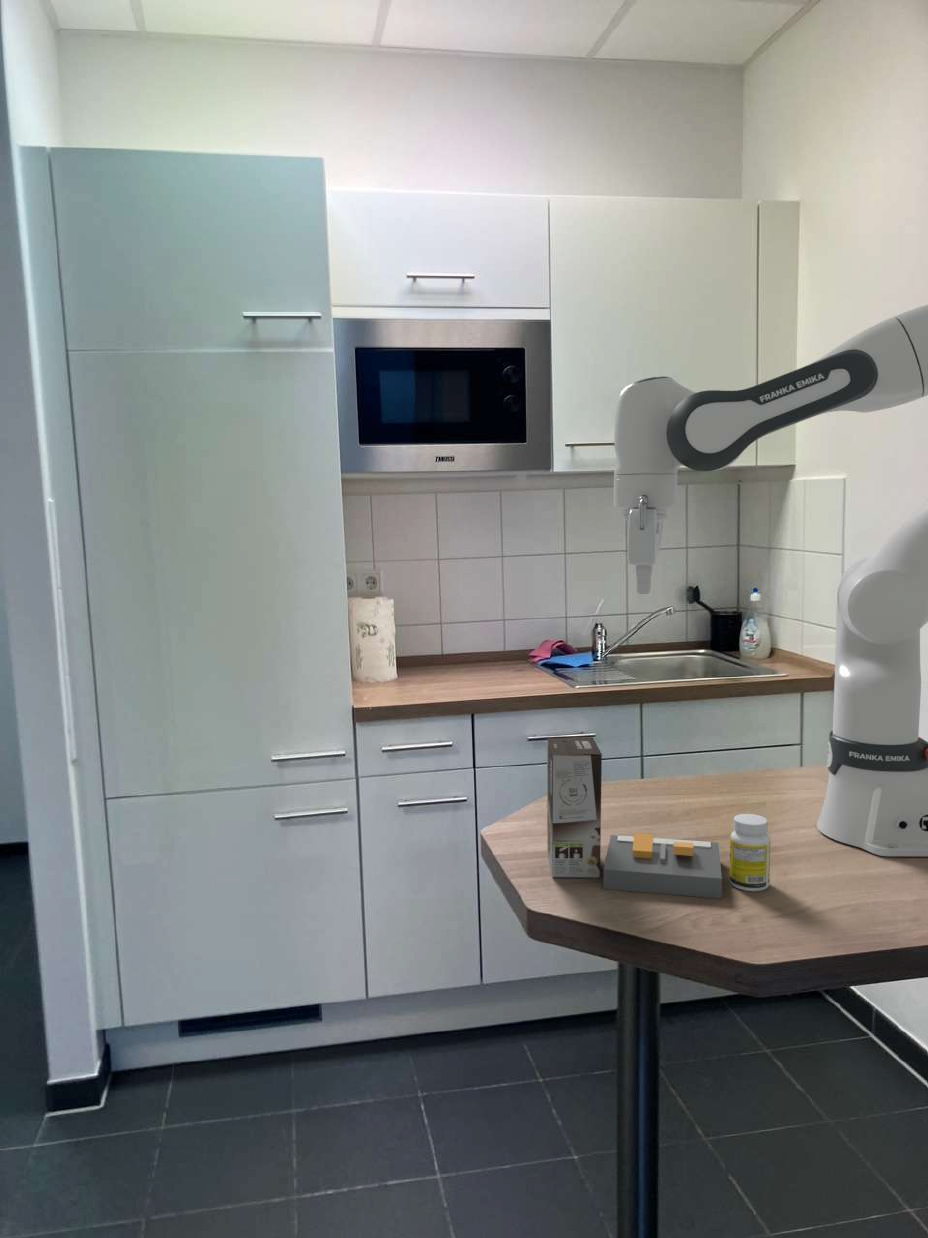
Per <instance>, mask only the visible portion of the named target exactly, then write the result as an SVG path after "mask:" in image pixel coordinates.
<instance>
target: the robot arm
mask: <svg viewBox="0 0 928 1238" xmlns="http://www.w3.org/2000/svg"><path fill="white" fill-rule="evenodd" d="M926 396H928V304H925V305H922V306H918V307H916V308H913V309H911V310H907V311H904V312H902V313H900V314H897V315H894V316H893V317H890V318H887V319H886V320H883V321H880V322H879V323H877V324H874V325H873V326H870V327H868V328H866V329H864V330H862V331H861V332H859V333H857V334H855V335H854V336H852V337H851V338H849V339H847V340H846V341H844V342H842V343H841V344H839V345H838V346H837V347H836V348H834V349H832V350H831V351H830V352H827V354H825V355H823V356H822V357H820V358H818V359H817V360H815V361H814V362H812V363H810V364H807V365H805V366H803V367H800V368H797V369H795V370H792V371H790V372H787V373H784V374H782V375H780V376H777V377H774V378H771V379H769V380H766V381H764V382H761V383H759V384H756V385H753V386H750V387H747V388H744V389H739V390H738V389H737V390H720V389H718V390H715V389H713V390H712V389H711V390H710V389H709V390H703V391H698V392H696V391H694V390H691V389H689V388H687V387H685V386H683V385H682V384H681V383H678V382H677V381H676V380H675V379H674V378H672V377H669V376H654V377H653V376H652V377H647V378H643V379H640V380H636V381H634V382H631V383H629V384H628V385H627V386H625V387H624V388H623V389H622V390H621V392H620V394H619V396H618V398H617V402H616V407H615V409H616V410H615V417H614V438H613V439H614V441H613V443H614V448H615V452H616V464H615V468H614V472H613V508H614V509H622V520H623V521H628V526H627V527H628V528H627V529H628V530H627V561H628V564H629V565H632V566H635V573H636V582H637V584H636V590H637V594H639V595H648V594H650V592H651V589H652V587H651V586H652V585H651V584H652V572H653V565H655V563H656V561H657V559H658V557H659V555H660V550H661V544H662V537H663V528H664V521H666V520H668V519H669V516H668V514H669V513H668V509H672V508H675V509H676V508H677V506H678V473H679V472H678V470H679V468H680V467H682V466H684V467H686V468H688V469H689V470H693V471H696V472H697V471H698V472H715V471H720V470H722V469H725V468H727V467H729V466H730V465H732V464H734V463H735V462H736V461H737V460H738V459H739V457H740V456H741V455H742V454H743V452H744V451H745V450H746V449H747V448H748V447H749V446H750V445H751V444H753V443H754V442H756V441H758V440H759V439H761V438H762V437H764V436H766V435H769V434H771V433H774V432H777V431H780V430H781V429H785V428H787V427H790V426H793V425H795V424H798V423H801V422H804V421H806V420H808V419H812V418H814V417H816V416H819V415H823V414H827V413H832V412H833V413H834V412H843V411H844V412H845V411H846V412H847V411H848V412H857V413H863V414H864V413H865V414H866V413H871V412H877V411H881V410H886V409H890V408H894V407H897V406H901V405H905V404H908V403H910V402H914V401H916V400H918V399H921V398H923V397H926ZM835 616H836V618H835V622H836V623H835V647H834V648H835V649H834V650H835V651H834V652H835V655H834V683H833V684H834V688H833V690H834V691H833V711H832V712H833V715H832V716H833V717H832V730H831V731H830V732H829V737H828V741H827V753H826V754H827V755H826V756H827V757H826V758H827V761H826V765H827V769H828V771H829V772H828V773H829V774H828V780H827V787H826V793H825V796H824V801H823V805H822V808H821V812H820V814H819V817H818V820H817V823H816V828H817V829H818V831H819V832H820V833H822V834H823V835H825V836H827V837H828V838H830V839H833V840H835V841H837V842H840V843H843V844H846V845H849V846H854V847H856V848H860V849H863V850H864V851H867V852H869V853H871V854H874V855H877V856H881V857H928V741H926V740H925V739H924V738H922V737H920V736H919V734H920V733H919V732H920V715H921V714H920V712H921V693H922V675H921V674H922V673H921V670H922V669H921V629H922V628H923V627H924V626H925V625H926V624H927V623H928V499H927V500H926V501H924V503H923V504H921V505H920V507H918V508H917V509H916V510H915V511H914V512H913V514H911V516H910V517H909V518H908V519H906V521H905V522H903V524H902V525H901V526H900V527H899V528H898V529H897V530H896V531H895V532H894V533H893V534H892V535H891V536H890V537H889V538H888V539H887V540H886V541H885V542H884V543H883V544H882V545H881V546H880V547H879V548H878V549H877V550H876V551H875V552H873V553H872V555H870V556H868V557H865V558H862V559H860V560H858V561H857V562H855V563H853V564H851V566H849V568H847V569H846V571H845V572H844V573H843V574H842V576H841V578H840V580H839V583H838V585H837V590H836V615H835Z"/></svg>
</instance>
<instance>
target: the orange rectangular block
mask: <svg viewBox="0 0 928 1238" xmlns="http://www.w3.org/2000/svg"><path fill="white" fill-rule="evenodd" d="M673 854H674V855H687V856H693V843H687V842H674V848H673Z"/></svg>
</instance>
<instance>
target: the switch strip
mask: <svg viewBox="0 0 928 1238" xmlns="http://www.w3.org/2000/svg"><path fill="white" fill-rule="evenodd" d="M608 841H609V842H608V847H607V852H606V856H605V861H604V865H603V875H602V876H603V878H602V879H603V883H602V884H603V888H602V889H603V890H604V889H605V890H612V891H613V890H614V891H627V892H628V891H629V892H637V893H638V892H639V893H649V894H650V893H651V894H661V895H662V894H663V895H674V896H684V897H685V896H686V897H696V898H697V897H699V898H708V899H709V898H710V899H722V898H723V896H722V891H723V890H722V889H723V887H722V886H723V877H722V867H721V866H722V865H721V858H720V857H721V856H720V848H719V842H715V841H714V842H713V841H712V842H711V841H705V840H704V841H701V840H690V839H687V840H685V839H673V838H662V837H661V838H659V837H653V851H652V859H650V858H636V857H633V841H634V835H633V836H630V835H616V834H614V835H613V834H611V835H610V838H609V840H608ZM674 842H687V843H693V856H687V855H674V854H673V848H674Z"/></svg>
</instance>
